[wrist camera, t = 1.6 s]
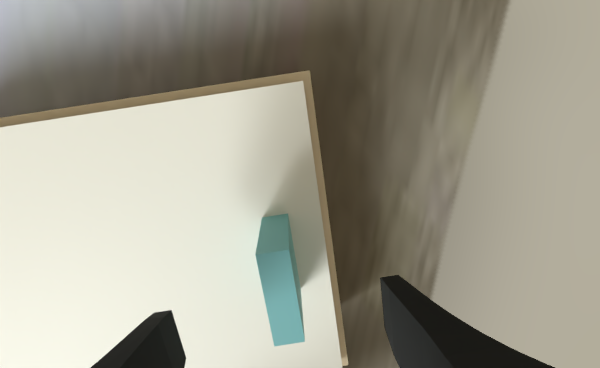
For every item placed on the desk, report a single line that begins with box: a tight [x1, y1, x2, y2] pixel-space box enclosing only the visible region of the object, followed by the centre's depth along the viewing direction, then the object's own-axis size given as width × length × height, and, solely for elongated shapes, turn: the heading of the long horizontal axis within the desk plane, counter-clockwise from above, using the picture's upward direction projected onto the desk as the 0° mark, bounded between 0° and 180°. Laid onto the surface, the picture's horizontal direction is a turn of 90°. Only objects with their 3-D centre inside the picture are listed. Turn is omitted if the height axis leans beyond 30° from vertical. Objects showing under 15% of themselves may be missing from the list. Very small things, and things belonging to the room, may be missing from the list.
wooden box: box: [0, 70, 348, 366], centre depth 19 cm, size 16×20×5 cm
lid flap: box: [0, 81, 342, 368], centre depth 14 cm, size 15×19×4 cm
